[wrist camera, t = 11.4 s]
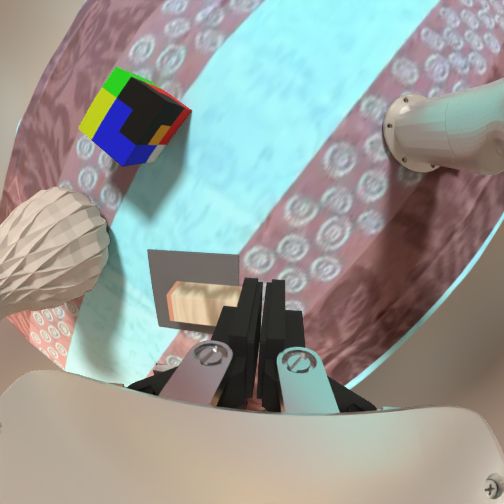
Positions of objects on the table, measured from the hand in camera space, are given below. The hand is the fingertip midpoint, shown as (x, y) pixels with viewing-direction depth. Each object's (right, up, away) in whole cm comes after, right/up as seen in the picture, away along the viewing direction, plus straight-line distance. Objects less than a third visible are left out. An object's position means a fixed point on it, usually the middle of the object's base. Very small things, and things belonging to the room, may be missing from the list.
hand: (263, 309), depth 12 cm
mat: (-11, -5, +37) cm, 38 cm away
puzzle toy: (-16, +23, +27) cm, 39 cm away
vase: (-33, +7, +35) cm, 48 cm away
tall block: (-2, -7, +33) cm, 34 cm away
